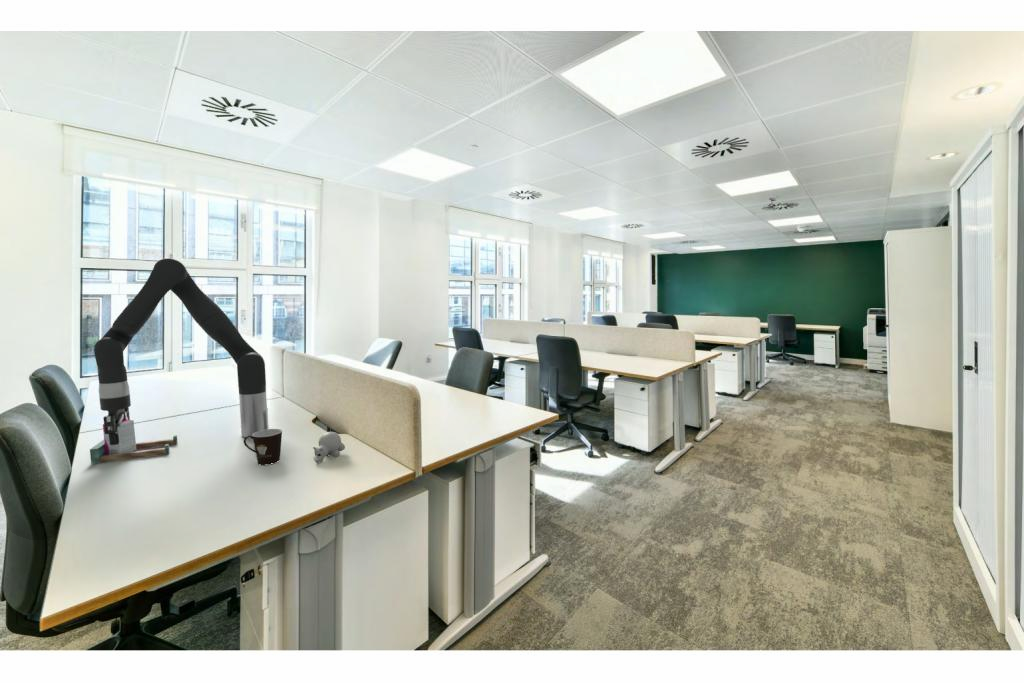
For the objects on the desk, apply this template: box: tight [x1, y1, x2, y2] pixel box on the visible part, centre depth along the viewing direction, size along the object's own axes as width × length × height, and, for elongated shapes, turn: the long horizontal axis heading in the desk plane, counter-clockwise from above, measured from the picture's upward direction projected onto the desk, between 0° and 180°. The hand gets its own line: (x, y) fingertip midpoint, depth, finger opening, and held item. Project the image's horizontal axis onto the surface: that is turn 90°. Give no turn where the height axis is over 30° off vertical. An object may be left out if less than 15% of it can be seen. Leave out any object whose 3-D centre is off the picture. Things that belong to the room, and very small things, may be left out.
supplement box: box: [102, 419, 138, 455], centre depth 142 cm, size 6×6×12 cm
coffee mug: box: [243, 428, 283, 466], centre depth 138 cm, size 12×9×10 cm
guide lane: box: [89, 434, 178, 465], centre depth 144 cm, size 20×12×5 cm, turn 117°
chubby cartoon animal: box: [312, 431, 346, 464], centre depth 140 cm, size 7×12×8 cm, turn 162°
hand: (119, 440), depth 142 cm, fingers closed on supplement box, 8 cm apart
